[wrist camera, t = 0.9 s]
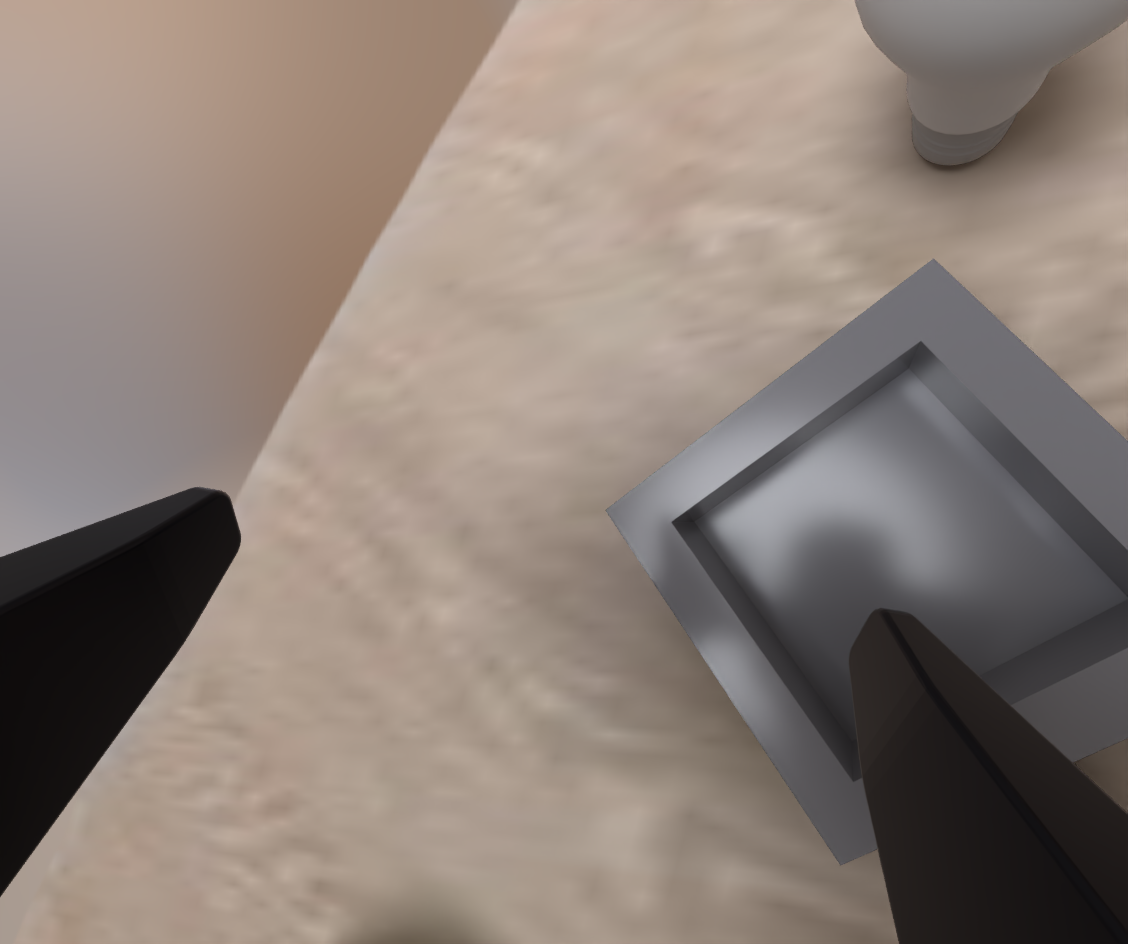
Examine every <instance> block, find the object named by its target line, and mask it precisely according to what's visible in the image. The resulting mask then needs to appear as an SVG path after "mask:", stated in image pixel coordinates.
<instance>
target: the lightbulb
mask: <svg viewBox="0 0 1128 944" xmlns="http://www.w3.org/2000/svg"><path fill="white" fill-rule="evenodd" d="M855 3H856V7H857V9H858V12H859V15H860V18H861V21H862V24H863V27H864V29H865V31H866V32H867V33H868V35H869V36H870V38H871V39H872V41H873V42H874V43H875V45H876V46H877V47H878V48H879V49H880V50H881V51H882V52H883V53H884V54H885V55H886V56H887V57H888V58H889V59H890V60H891V61H892V62H893V63H894V64H895V65H897V66H898V67H899V68H900V69H902V70H903V71H904V72H905V73H906V75H907V88H906V90H907V100H908V103H909V106H910V109H911V111H912V113H913V114H912V141H913V144H914V147H915V149H916V150H917V152H918V153H919V154H920V155H921V156H922V157H923V158H924V159H926V160H928V161H930V162H932V163H936V164H939V165H959V164H963V163H968V162H970V161H973V160H975V159H978V158H980V157H981V156H983V155H985V154H987V153H988V152H989V151H990V150H992V149H993V148H994V147H995V146H996V145H997V144H998V143H999V142H1000V141H1001V140H1002V138H1003V137H1004V135H1005V134H1006V132H1007V131H1008V129H1009V127H1010V126H1011V124H1012V123H1013V121H1014V119H1015V116H1016V115H1017V113H1018V112H1019V110H1020V109H1022V108H1023V107H1024V106H1025V105H1026V104H1027V103H1028V102H1029V101H1030V100H1031V98H1032V97H1033V96H1034V95H1035V94H1036V92H1037V91H1038V89H1039V88H1040V86H1041V85H1042V83H1043V81H1044V80H1045V78H1046V76H1047V74H1048V73H1049V71H1050V70H1051V69H1052V67H1053V66H1056V65H1058V64H1059V63H1061V62H1063V61H1064V60H1066V59H1068V58H1069V57H1071V56H1072V55H1074V54H1076V53H1077V52H1079V51H1081V50H1082V49H1084V48H1086V47H1087V46H1089V45H1090V44H1092V43H1093V42H1095V41H1097V40H1098V39H1100V38H1101V37H1103V36H1105V35H1106V34H1108V33H1109V32H1111V31H1112V30H1114V29H1116V28H1117V27H1118V26H1120V25H1121V24H1122V23H1123V22H1125V21H1126V20H1127V19H1128V0H855Z"/></svg>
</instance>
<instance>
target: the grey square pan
mask: <svg viewBox="0 0 1128 944" xmlns="http://www.w3.org/2000/svg"><path fill="white" fill-rule="evenodd" d="M606 512H607V513H608V515H609V516H610V518H611V519H612V521H613V523H614V524H615V526H616V527H617V529H618V530H619V532H620V533H621V535H622V536H623V538H624V539H625V541H626V542H627V544H628V545H629V547H630V548H631V550H632V551H633V553H634V554H635V556H636V557H637V559H638V560H639V562H640V563H641V565H642V566H643V568H644V569H645V571H646V572H647V574H648V575H649V577H650V578H651V580H652V581H653V583H654V584H655V586H656V587H657V589H658V590H659V592H660V594H661V595H662V597H663V598H664V600H665V601H666V603H667V604H668V606H669V607H670V609H671V610H672V612H673V613H674V615H675V616H676V618H677V619H678V621H679V622H680V624H681V625H682V627H683V628H684V630H685V631H686V633H687V634H688V636H689V637H690V639H691V640H692V642H693V643H694V645H695V646H696V648H697V649H698V651H699V652H700V654H701V655H702V657H703V658H704V660H705V662H706V663H707V665H708V666H709V668H710V669H711V671H712V672H713V674H714V675H715V677H716V678H717V680H718V681H719V683H720V684H721V686H722V687H723V689H724V690H725V692H726V693H727V695H728V696H729V698H730V699H731V701H732V702H733V704H734V705H735V707H736V708H737V710H738V711H739V713H740V714H741V716H742V717H743V719H744V720H745V722H746V723H747V725H748V726H749V728H750V729H751V731H752V733H753V734H754V736H755V737H756V739H757V740H758V742H759V743H760V745H761V746H762V748H763V749H764V751H765V752H766V754H767V755H768V757H769V758H770V760H771V761H772V763H773V764H774V766H775V767H776V769H777V770H778V772H779V773H780V775H781V776H782V778H783V779H784V781H785V782H786V784H787V785H788V787H789V788H790V790H791V791H792V793H793V794H794V796H795V797H796V799H797V801H798V802H799V804H800V805H801V807H802V808H803V810H804V811H805V813H806V814H807V816H808V817H809V819H810V820H811V822H812V823H813V825H814V826H815V828H816V829H817V831H818V832H819V834H820V835H821V837H822V838H823V840H824V841H825V843H826V844H827V846H828V847H829V849H830V850H831V852H832V853H833V855H834V856H835V858H836V859H837V861H838V862H839V864H840V865H843V864H845V863H847V862H849V861H852V860H854V859H856V858H858V857H861V856H863V855H865V854H868V853H870V852H872V851H874V850H877V849H878V848H877V844H876V839H875V835H874V831H873V826H872V822H871V817H870V813H869V809H868V804H867V800H866V795H865V790H864V785H863V780H862V774H861V767H860V760H859V752H858V743H857V734H856V725H855V717H854V708H853V699H852V690H851V681H850V672H849V653H850V650H851V647H852V645H853V643H854V641H855V640H856V638H857V636H858V634H859V633H860V631H861V629H862V627H863V626H864V624H865V622H866V620H867V618H868V617H869V615H870V614H871V612H872V611H873V610H875V609H877V608H887V609H893V610H898V611H904V612H908V613H910V614H912V615H913V616H915V617H916V618H917V619H918V620H919V621H920V622H921V623H922V624H923V625H925V626H926V627H927V628H928V629H929V630H930V631H931V632H932V633H933V634H934V635H935V636H936V637H937V638H939V639H940V640H941V641H942V642H943V643H944V644H945V645H946V646H947V647H948V648H949V649H950V650H952V651H953V652H954V653H955V654H956V655H957V656H958V657H959V658H960V659H961V660H962V661H963V662H965V663H966V664H967V665H968V666H969V667H970V668H971V669H972V670H973V671H974V672H975V673H976V674H977V675H979V676H980V677H981V678H982V679H983V680H984V681H985V682H986V683H987V684H988V685H989V686H990V687H992V688H993V689H994V690H995V691H996V692H997V693H998V694H999V695H1000V696H1001V697H1002V698H1003V699H1005V700H1006V701H1007V702H1008V703H1009V704H1010V705H1011V706H1012V707H1013V708H1014V709H1015V710H1016V711H1018V712H1019V713H1020V714H1021V715H1022V716H1023V717H1024V718H1025V719H1026V720H1027V721H1028V722H1029V723H1030V724H1032V725H1033V726H1034V727H1035V728H1036V729H1037V730H1038V731H1039V732H1040V733H1041V734H1042V735H1043V736H1045V737H1046V738H1047V739H1048V740H1049V741H1050V742H1051V743H1052V744H1053V745H1054V746H1055V747H1056V748H1058V749H1059V750H1060V751H1061V752H1062V753H1063V754H1064V755H1065V756H1066V757H1067V758H1068V759H1069V760H1071V761H1072V762H1075V761H1077V760H1080V759H1082V758H1084V757H1087V756H1089V755H1091V754H1093V753H1096V752H1098V751H1100V750H1102V749H1105V748H1107V747H1109V746H1111V745H1114V744H1116V743H1118V742H1120V741H1123V740H1125V739H1127V738H1128V441H1127V440H1126V439H1125V438H1124V437H1123V436H1122V435H1121V434H1120V433H1119V432H1117V431H1116V430H1115V429H1114V428H1113V427H1112V426H1111V425H1110V424H1109V423H1108V422H1107V421H1106V420H1105V419H1104V418H1103V417H1102V416H1100V415H1099V414H1098V413H1097V412H1096V411H1095V410H1094V409H1093V408H1092V407H1091V406H1090V405H1089V404H1088V403H1087V402H1086V401H1085V400H1083V399H1082V398H1081V397H1080V396H1079V395H1078V394H1077V393H1076V392H1075V391H1074V390H1073V389H1072V388H1071V387H1070V386H1069V385H1068V384H1066V383H1065V382H1064V381H1063V380H1062V379H1061V378H1060V377H1059V376H1058V375H1057V374H1056V373H1055V372H1054V371H1053V370H1052V369H1051V368H1049V367H1048V366H1047V365H1046V364H1045V363H1044V362H1043V361H1042V360H1041V359H1040V358H1039V357H1038V356H1037V355H1036V354H1035V353H1034V352H1032V351H1031V350H1030V349H1029V348H1028V347H1027V346H1026V345H1025V344H1024V343H1023V342H1022V341H1021V340H1020V339H1019V338H1018V337H1016V336H1015V335H1014V334H1013V333H1012V332H1011V331H1010V330H1009V329H1008V328H1007V327H1006V326H1005V325H1004V324H1003V323H1002V322H1001V321H999V320H998V319H997V318H996V317H995V316H994V315H993V314H992V313H991V312H990V311H989V310H988V309H987V308H986V307H985V306H984V305H982V304H981V303H980V302H979V301H978V300H977V299H976V298H975V297H974V296H973V295H972V294H971V293H970V292H969V291H968V290H967V289H965V288H964V287H963V286H962V285H961V284H960V283H959V282H958V281H957V280H956V279H955V278H954V277H953V276H952V275H951V274H950V273H948V272H947V271H946V270H945V269H944V268H943V267H942V266H941V265H940V264H939V263H938V262H937V261H936V260H935V259H932V260H931V261H930V262H928V263H927V264H926V265H924V266H923V267H922V268H920V269H919V270H918V271H917V272H915V273H914V274H913V275H911V276H910V277H909V278H907V279H906V280H905V281H904V282H902V283H901V284H900V285H898V286H897V287H896V288H894V289H893V290H892V291H890V292H889V293H888V294H887V295H885V296H884V297H883V298H881V299H880V300H879V301H877V302H876V303H875V304H874V305H872V306H871V307H870V308H868V309H867V310H866V311H864V312H863V313H862V314H860V315H859V316H858V317H857V318H855V319H854V320H853V321H851V322H850V323H849V324H847V325H846V326H845V327H844V328H842V329H841V330H840V331H838V332H837V333H836V334H834V335H833V336H832V337H831V338H829V339H828V340H827V341H825V342H824V343H823V344H821V345H820V346H819V347H817V348H816V349H815V350H814V351H812V352H811V353H810V354H808V355H807V356H806V357H804V358H803V359H802V360H801V361H799V362H798V363H797V364H795V365H794V366H793V367H791V368H790V369H789V370H787V371H786V372H785V373H784V374H782V375H781V376H780V377H778V378H777V379H776V380H774V381H773V382H772V383H771V384H769V385H768V386H767V387H765V388H764V389H763V390H761V391H760V392H759V393H757V394H756V395H755V396H754V397H752V398H751V399H750V400H748V401H747V402H746V403H744V404H743V405H742V406H741V407H739V408H738V409H737V410H735V411H734V412H733V413H731V414H730V415H729V416H727V417H726V418H725V419H724V420H722V421H721V422H720V423H718V424H717V425H716V426H714V427H713V428H712V429H711V430H709V431H708V432H707V433H705V434H704V435H703V436H701V437H700V438H699V439H697V440H696V441H695V442H694V443H692V444H691V445H690V446H688V447H687V448H686V449H684V450H683V451H682V452H681V453H679V454H678V455H677V456H675V457H674V458H673V459H671V460H670V461H669V462H667V463H666V464H665V465H664V466H662V467H661V468H660V469H658V470H657V471H656V472H654V473H653V474H652V475H651V476H649V477H648V478H647V479H645V480H644V481H643V482H641V483H640V484H639V485H637V486H636V487H635V488H634V489H632V490H631V491H630V492H628V493H627V494H626V495H624V496H623V497H622V498H621V499H619V500H618V501H617V502H615V503H614V504H613V505H611V506H610V507H609V508H607V509H606Z"/></svg>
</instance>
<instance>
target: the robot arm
mask: <svg viewBox="0 0 1128 944" xmlns="http://www.w3.org/2000/svg"><path fill="white" fill-rule="evenodd" d="M240 543H241V533H240V530H239V526H238V523H237V519H236V516H235V512H234V509H233V505H232V502H231V499H230V497H229V496H228V495H227V494H226V493H225V492H223V491H220V490H215V489H209V488H203V487H194V488H190V489H188V490H185V491H182V492H179V493H177V494H174V495H171V496H168V497H166V498H163V499H160V500H157V501H154V502H152V503H149V504H146V505H143V506H141V507H138V508H135V509H132V510H130V511H127V512H124V513H121V514H119V515H116V516H113V517H111V518H108V519H105V520H102V521H99V522H96V523H94V524H91V525H88V526H86V527H83V528H80V529H77V530H74V531H72V532H69V533H66V534H63V535H61V536H58V537H55V538H52V539H49V540H47V541H44V542H41V543H38V544H36V545H33V546H30V547H28V548H25V549H22V550H19V551H17V552H14V553H11V554H8V555H6V556H3V557H0V897H1V895H2V894H3V893H4V891H5V890H6V888H7V887H8V886H9V884H10V883H11V881H12V880H13V879H14V877H15V876H16V875H17V873H18V872H19V871H20V869H21V868H22V866H23V865H24V864H25V862H26V861H27V859H28V858H29V857H30V855H31V854H32V853H33V851H34V850H35V848H36V847H37V846H38V844H39V843H40V842H41V840H42V839H43V837H44V836H45V835H46V833H47V832H48V831H49V829H50V828H51V826H52V825H53V824H54V822H55V821H56V820H57V818H58V817H59V815H60V814H61V813H62V811H63V810H64V808H65V807H66V806H67V804H68V803H69V802H70V800H71V799H72V798H73V796H74V795H75V793H76V792H77V791H78V789H79V788H80V786H81V785H82V784H83V782H84V781H85V780H86V778H87V777H88V775H89V774H90V773H91V771H92V770H93V769H94V767H95V766H96V764H97V763H98V762H99V760H100V759H101V758H102V756H103V755H104V753H105V752H106V751H107V749H108V748H109V746H110V745H111V744H112V742H113V741H114V740H115V738H116V737H117V735H118V734H119V733H120V731H121V730H122V729H123V727H124V726H125V724H126V723H127V722H128V720H129V719H130V718H131V716H132V715H133V713H134V712H135V711H136V709H137V708H138V707H139V705H140V704H141V702H142V701H143V700H144V698H145V697H146V695H147V694H148V693H149V691H150V690H151V689H152V687H153V686H154V684H155V683H156V682H157V680H158V679H159V678H160V676H161V675H162V673H163V672H164V671H165V669H166V668H167V667H168V665H169V664H170V662H171V661H172V660H173V658H174V657H175V655H176V654H177V652H178V651H179V650H180V648H181V647H182V645H183V644H184V642H185V641H186V639H187V637H188V636H189V634H190V633H191V631H192V629H193V628H194V626H195V625H196V623H197V621H198V619H199V618H200V616H201V614H202V613H203V611H204V609H205V607H206V606H207V604H208V602H209V600H210V599H211V597H212V595H213V594H214V592H215V590H216V588H217V587H218V585H219V583H220V582H221V580H222V578H223V576H224V575H225V573H226V571H227V570H228V568H229V566H230V564H231V563H232V561H233V559H234V558H235V556H236V554H237V552H238V550H239V547H240ZM849 672H850V681H851V690H852V699H853V708H854V717H855V725H856V734H857V743H858V752H859V760H860V767H861V774H862V780H863V785H864V790H865V795H866V800H867V804H868V809H869V813H870V817H871V822H872V826H873V831H874V835H875V839H876V844H877V848H878V853H879V857H880V861H881V866H882V870H883V875H884V879H885V883H886V888H887V892H888V897H889V901H890V905H891V910H892V914H893V919H894V923H895V928H896V932H897V936H898V941H899V944H1128V813H1127V812H1126V811H1125V810H1123V809H1122V808H1121V807H1120V806H1119V805H1118V804H1117V803H1116V802H1115V801H1114V800H1113V799H1112V798H1111V797H1109V796H1108V795H1107V794H1106V793H1105V792H1104V791H1103V790H1102V789H1101V788H1100V787H1099V786H1098V785H1096V784H1095V783H1094V782H1093V781H1092V780H1091V779H1090V778H1089V777H1088V776H1087V775H1086V774H1085V773H1083V772H1082V771H1081V770H1080V769H1079V768H1078V767H1077V766H1076V765H1075V764H1074V763H1073V762H1072V761H1071V760H1069V759H1068V758H1067V757H1066V756H1065V755H1064V754H1063V753H1062V752H1061V751H1060V750H1059V749H1058V748H1056V747H1055V746H1054V745H1053V744H1052V743H1051V742H1050V741H1049V740H1048V739H1047V738H1046V737H1045V736H1043V735H1042V734H1041V733H1040V732H1039V731H1038V730H1037V729H1036V728H1035V727H1034V726H1033V725H1032V724H1030V723H1029V722H1028V721H1027V720H1026V719H1025V718H1024V717H1023V716H1022V715H1021V714H1020V713H1019V712H1018V711H1016V710H1015V709H1014V708H1013V707H1012V706H1011V705H1010V704H1009V703H1008V702H1007V701H1006V700H1005V699H1003V698H1002V697H1001V696H1000V695H999V694H998V693H997V692H996V691H995V690H994V689H993V688H992V687H990V686H989V685H988V684H987V683H986V682H985V681H984V680H983V679H982V678H981V677H980V676H979V675H977V674H976V673H975V672H974V671H973V670H972V669H971V668H970V667H969V666H968V665H967V664H966V663H965V662H963V661H962V660H961V659H960V658H959V657H958V656H957V655H956V654H955V653H954V652H953V651H952V650H950V649H949V648H948V647H947V646H946V645H945V644H944V643H943V642H942V641H941V640H940V639H939V638H937V637H936V636H935V635H934V634H933V633H932V632H931V631H930V630H929V629H928V628H927V627H926V626H925V625H923V624H922V623H921V622H920V621H919V620H918V619H917V618H916V617H915V616H913V615H912V614H910V613H908V612H904V611H898V610H893V609H887V608H877V609H875V610H873V611H872V612H871V614H870V615H869V617H868V618H867V620H866V622H865V624H864V626H863V627H862V629H861V631H860V633H859V634H858V636H857V638H856V640H855V641H854V643H853V645H852V647H851V650H850V653H849Z"/></svg>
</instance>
